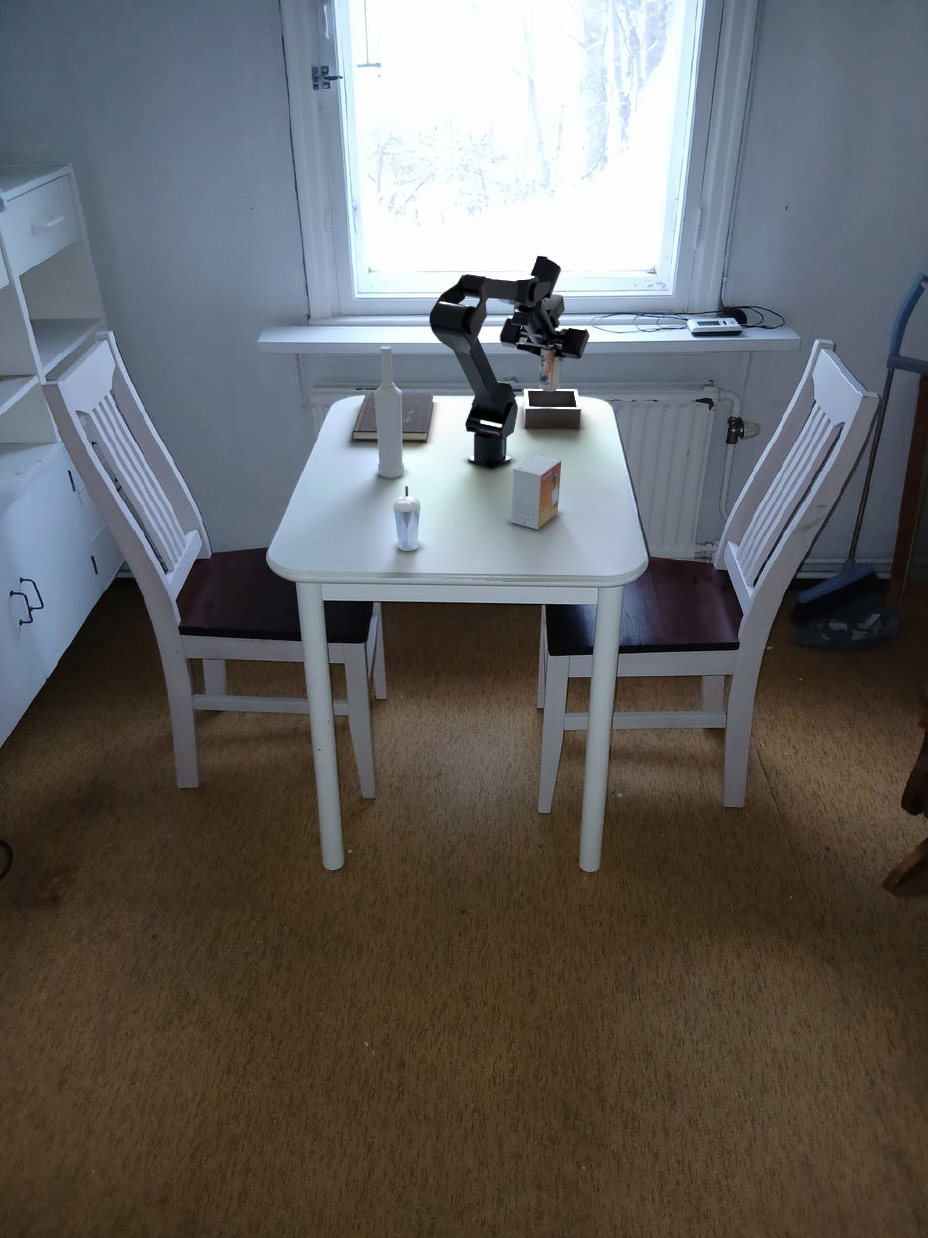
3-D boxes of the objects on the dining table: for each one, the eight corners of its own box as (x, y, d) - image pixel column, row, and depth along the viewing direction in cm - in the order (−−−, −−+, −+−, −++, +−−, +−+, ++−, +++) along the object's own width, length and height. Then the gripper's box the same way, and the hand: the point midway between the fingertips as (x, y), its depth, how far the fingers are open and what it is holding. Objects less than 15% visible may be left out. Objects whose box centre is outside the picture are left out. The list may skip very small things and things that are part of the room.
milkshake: (421, 538, 160) (420, 485, 154) (421, 553, 155) (420, 499, 150) (395, 538, 159) (393, 485, 154) (394, 553, 155) (392, 500, 149)
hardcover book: (433, 403, 214) (433, 393, 213) (426, 442, 195) (426, 431, 194) (365, 402, 215) (364, 392, 213) (352, 440, 195) (351, 430, 194)
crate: (579, 428, 202) (581, 408, 199) (524, 427, 202) (525, 408, 199) (575, 408, 212) (577, 389, 209) (523, 407, 212) (524, 388, 209)
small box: (537, 530, 162) (540, 476, 156) (510, 522, 164) (512, 468, 159) (558, 513, 168) (562, 460, 162) (532, 506, 170) (534, 453, 164)
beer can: (534, 386, 204) (537, 332, 198) (553, 384, 206) (556, 330, 199) (545, 393, 200) (548, 338, 194) (564, 390, 202) (568, 335, 196)
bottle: (373, 475, 181) (366, 349, 167) (387, 465, 185) (381, 341, 171) (395, 480, 179) (390, 353, 165) (409, 470, 183) (405, 345, 169)
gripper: (590, 289, 184) (606, 331, 198) (507, 277, 191) (528, 319, 205) (570, 338, 182) (588, 377, 196) (488, 324, 190) (511, 363, 204)
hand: (553, 357), depth 201 cm, fingers closed on beer can, 5 cm apart
